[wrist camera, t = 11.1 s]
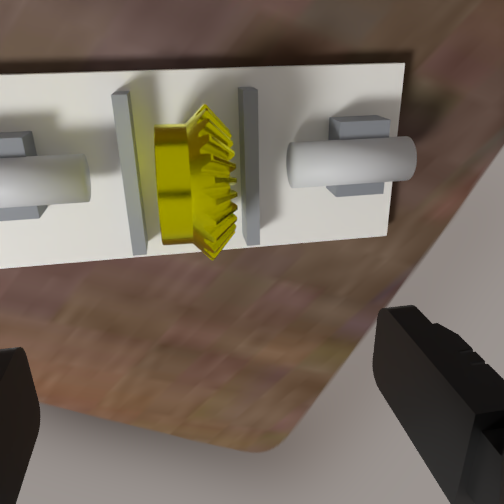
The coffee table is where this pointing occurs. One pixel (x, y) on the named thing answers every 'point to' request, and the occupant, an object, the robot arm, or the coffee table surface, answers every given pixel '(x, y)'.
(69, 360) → the coffee table surface
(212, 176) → the gear
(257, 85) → the coupling board
